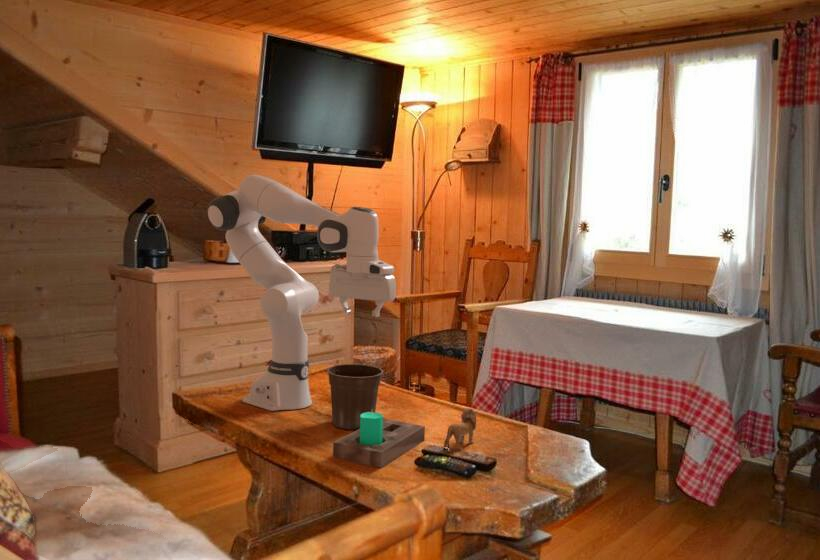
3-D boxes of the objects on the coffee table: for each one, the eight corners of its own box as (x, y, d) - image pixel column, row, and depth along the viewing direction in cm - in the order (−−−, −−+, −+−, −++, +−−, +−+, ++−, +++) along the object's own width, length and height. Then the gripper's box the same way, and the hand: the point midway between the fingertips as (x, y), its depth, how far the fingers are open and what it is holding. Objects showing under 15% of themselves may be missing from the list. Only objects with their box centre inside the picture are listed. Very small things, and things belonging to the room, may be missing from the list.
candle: (379, 460, 175) (380, 413, 174) (356, 457, 176) (357, 411, 175) (384, 452, 181) (386, 407, 179) (362, 449, 182) (363, 405, 181)
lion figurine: (461, 436, 195) (463, 405, 194) (479, 439, 193) (480, 408, 192) (439, 451, 182) (440, 418, 181) (457, 455, 180) (459, 422, 179)
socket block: (332, 457, 176) (333, 442, 175) (380, 431, 197) (380, 417, 197) (380, 468, 169) (381, 452, 169) (424, 440, 191) (424, 426, 190)
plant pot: (389, 419, 209) (390, 366, 207) (370, 435, 193) (372, 379, 192) (338, 413, 213) (339, 361, 212) (317, 428, 198) (317, 373, 196)
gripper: (324, 264, 195) (323, 312, 196) (388, 269, 186) (387, 320, 187) (337, 262, 200) (336, 310, 202) (399, 267, 191) (398, 317, 193)
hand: (361, 315), depth 194 cm, fingers open, 8 cm apart
